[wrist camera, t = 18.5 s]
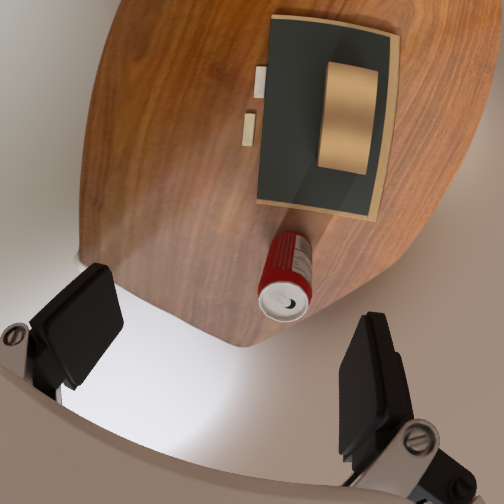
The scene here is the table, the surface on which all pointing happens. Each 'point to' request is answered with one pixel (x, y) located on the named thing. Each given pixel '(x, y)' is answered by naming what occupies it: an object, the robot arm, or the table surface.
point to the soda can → (286, 278)
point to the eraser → (347, 117)
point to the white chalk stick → (260, 82)
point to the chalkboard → (310, 110)
